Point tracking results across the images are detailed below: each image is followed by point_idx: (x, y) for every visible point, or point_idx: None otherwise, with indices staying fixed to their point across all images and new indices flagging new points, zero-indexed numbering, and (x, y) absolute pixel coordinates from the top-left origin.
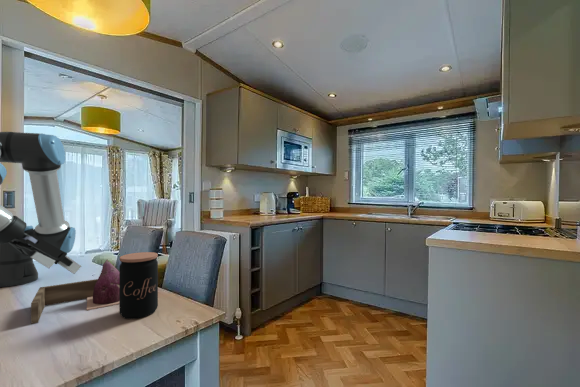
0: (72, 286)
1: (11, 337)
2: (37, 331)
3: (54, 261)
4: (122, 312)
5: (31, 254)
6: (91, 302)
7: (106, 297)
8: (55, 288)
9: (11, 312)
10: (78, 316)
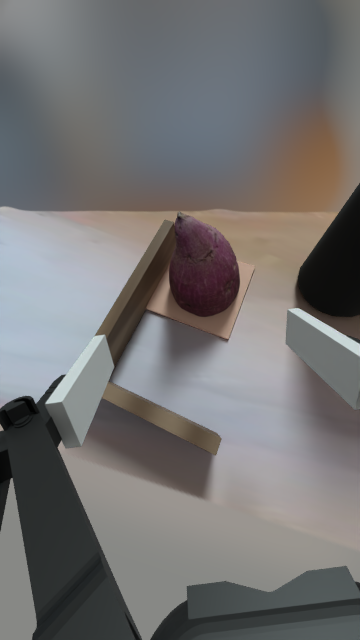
0: (122, 319)
1: (266, 506)
2: (275, 454)
3: (104, 341)
4: (355, 314)
5: (58, 443)
6: (191, 316)
7: (233, 296)
8: None
9: None
10: (251, 364)
